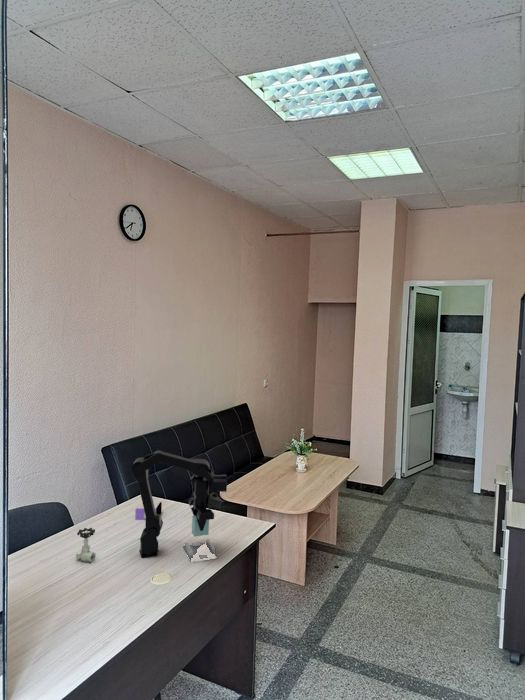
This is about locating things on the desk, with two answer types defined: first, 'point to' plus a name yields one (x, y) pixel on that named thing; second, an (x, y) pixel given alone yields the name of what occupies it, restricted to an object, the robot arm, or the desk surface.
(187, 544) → the plate
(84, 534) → the valve
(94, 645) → the desk surface
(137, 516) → the toy room diorama
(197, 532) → the block
